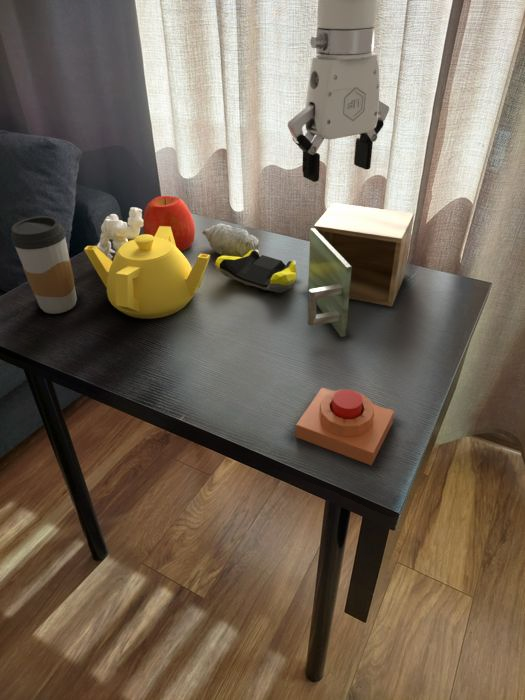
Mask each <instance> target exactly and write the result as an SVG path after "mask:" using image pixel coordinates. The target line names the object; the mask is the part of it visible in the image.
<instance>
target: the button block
mask: <svg viewBox="0 0 525 700" xmlns="http://www.w3.org/2000/svg"><path fill="white" fill-rule="evenodd" d="M339 390H340V389H336V390H331V389H329V388H325V387H321V388H320V389H319V391H318V392H317V394H316V395H315V397H314V398H313V400H312V401H311V403H310V404H309V405H308V407H307V408H306V410H305V411H304V412H303V414H302V416H301V417H300V418H299V420H298V421H297V423H296V425H295V438H297V439H300V440H303V441H306V442H307V443H310V444H313V445H316V446H319V447H321V448H324V449H326V450H329V451H332V452H335V453H336V454H340V455H343V456H345V457H347V458H350V459H352V460H355V461H358V462H361V463H363V464H366V465H369V466H372V465H373V463H374V461H375V459H376V457H377V455H378V454H379V451H380V449H381V448H382V445H383V444H384V441H385V439H386V437H387V435H388V433H389V431H390V429H391V427H392V425H393V422H394V417H395V410H392V409H390V408H387V407H383V406H381V405H377V404H375V403H373V402H372V400H370V399H369V398H368V397H367V396H366V395H365V394H363V393H361V392H358V393H359V394H360V395H361V396H362V399H363V403H362V411H361V414H360V415H359V416H358V417H356V418H354V419H343V418H340V417H338V416H336V415H335V414H334V413H333V411H332V402H333V396H334V394H335V393H336V392H337V391H339Z"/></svg>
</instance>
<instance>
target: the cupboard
mask: <svg viewBox="0 0 525 700" xmlns="http://www.w3.org/2000/svg"><path fill="white" fill-rule="evenodd" d="M414 217H415V213H414V212H408V211H407V212H406V211H401V210H392V209H385V208H378V207H377V208H376V207H369V206H363V205H362V206H361V205H353V204H346V203H340V202H332V203H331V204H330V205H329V207H328V208H327V209H326V211H325V212H324V213H323V214H322V215H321V217H320V218H319V219H318V220H317V221H316V222H315V224H314V225H313V228H315V229H316V230H317V231H318V232H319V233H320V234H321V235H322V236H323V237H324V238H325V239H326V240H327V241H328V242H329V244H330V245H331V246H332V247H333V248H334V249H335V250H336V251H337V252H338V253H339V254H340V255H341V256H342V257H343V258H344V259H345V260H346V261H347V262H348V263H349V264H350V266H351V267H352V270H351V281H350V292H349V300H354V301H361V302H366V303H371V304H377V305H381V306H388V307H393V305H394V302H395V300H396V297H397V296H398V292H399V291H400V288H401V286H402V283H403V281H404V279H405V273H406V269H407V268H406V267H407V261H408V255H409V249H410V244H411V243H410V242H411V235H412V229H413V223H414Z"/></svg>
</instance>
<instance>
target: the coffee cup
mask: <svg viewBox="0 0 525 700" xmlns="http://www.w3.org/2000/svg"><path fill="white" fill-rule="evenodd" d="M66 236H67V232H66V231H65V227H64V226H63V224H61V222H60V220H59V219H58V218H56V217H54V216H48V215H38V216H32V217H28V218H24V219H21V220H19V221H17V222H16V223H14V224H13V225H12V226H11V234H10V238H11V244H12V246H13V247H14V248H15V250H16V252H17V255H18V257H19V260H20V262H21V264H22V269H23V271H24V274H25V277H26V278H27V281H28V283H29V286H30V288H31V291H32V294H34V297H35V299H36V301H37V304H38V307H39V308H40V309H41V310H42V311H43V312H44V313H46V314H51V315H53V314H56V315H57V314H62V313H65V312H67V311H69V310H71V309H73V308H74V307H75V306H76V304H77V300H78V297H77V292H76V286H75V277H74V272H73V267H72V263H71V258H70V255H69V249H68V244H67V239H66Z"/></svg>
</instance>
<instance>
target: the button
mask: <svg viewBox="0 0 525 700" xmlns="http://www.w3.org/2000/svg"><path fill="white" fill-rule="evenodd" d="M338 390H339V391H337V392H336V393H335V394H334V396H333V402H332V411H333V413H334V414H335V415H336V416H338V417H340V418H343V419H354V418H356V417H358V416H359V415H360V414H361V411H362V403H363V399H362V396H361V395H360V394H359V393H360V392H358V391H356V390H354V389H349V388H348V389H347V388H345V389H344V388H343V389H338Z"/></svg>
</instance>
